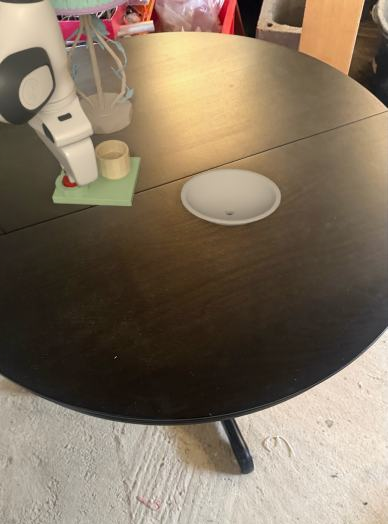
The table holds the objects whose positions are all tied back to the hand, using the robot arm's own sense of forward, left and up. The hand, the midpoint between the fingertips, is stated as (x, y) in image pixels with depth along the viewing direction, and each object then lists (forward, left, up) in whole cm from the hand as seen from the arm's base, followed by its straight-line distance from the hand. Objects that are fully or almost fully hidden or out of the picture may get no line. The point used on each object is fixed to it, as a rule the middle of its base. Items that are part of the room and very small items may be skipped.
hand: (71, 177), depth 89 cm
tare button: (0, 0, -2) cm, 2 cm away
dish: (+30, -5, -4) cm, 30 cm away
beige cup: (+7, +5, -2) cm, 9 cm away
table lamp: (+1, +25, -4) cm, 26 cm away
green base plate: (+4, +3, -4) cm, 6 cm away
